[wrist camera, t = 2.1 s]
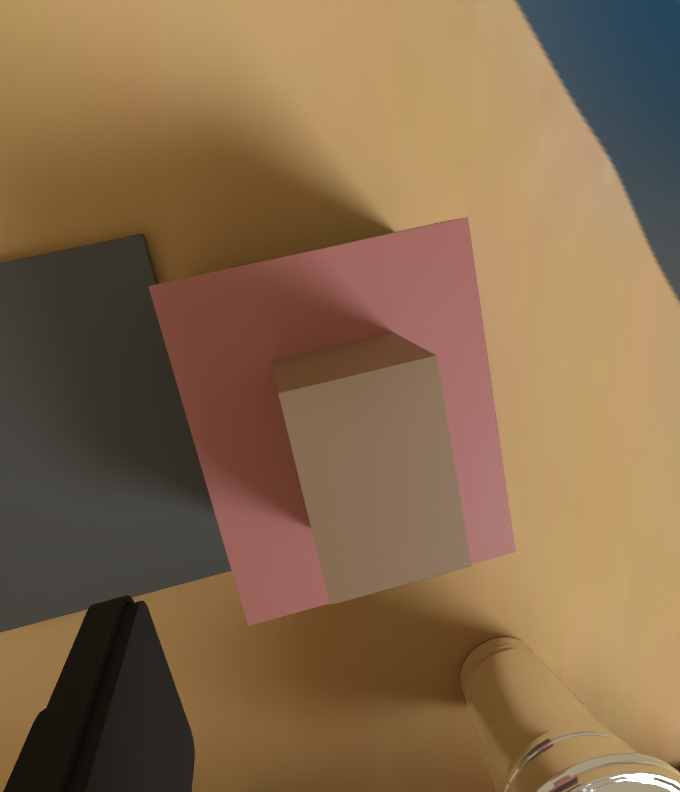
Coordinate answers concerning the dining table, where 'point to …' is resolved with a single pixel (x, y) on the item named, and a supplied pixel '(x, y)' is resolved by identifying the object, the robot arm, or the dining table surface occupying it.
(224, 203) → the dining table surface
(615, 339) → the dining table surface
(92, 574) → the mat
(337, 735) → the dining table surface
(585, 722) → the cup with straw
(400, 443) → the lid
